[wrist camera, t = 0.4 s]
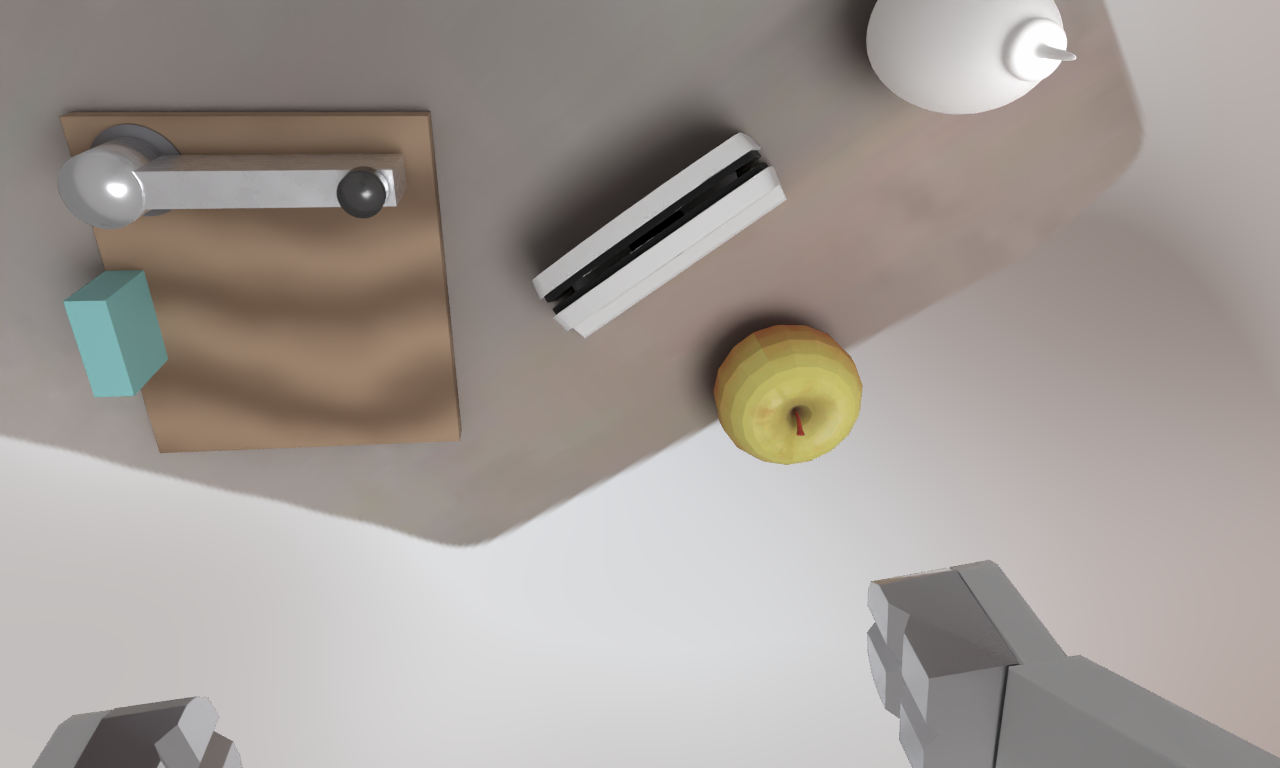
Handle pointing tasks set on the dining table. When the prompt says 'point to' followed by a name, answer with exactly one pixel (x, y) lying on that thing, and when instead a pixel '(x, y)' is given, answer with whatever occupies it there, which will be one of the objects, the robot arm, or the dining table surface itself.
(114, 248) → the wooden cutting board
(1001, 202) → the dining table surface
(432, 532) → the dining table surface
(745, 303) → the dining table surface
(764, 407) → the apple
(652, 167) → the dining table surface
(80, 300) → the block
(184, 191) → the lock bar
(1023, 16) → the white tall oval piece
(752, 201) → the white slotted block
